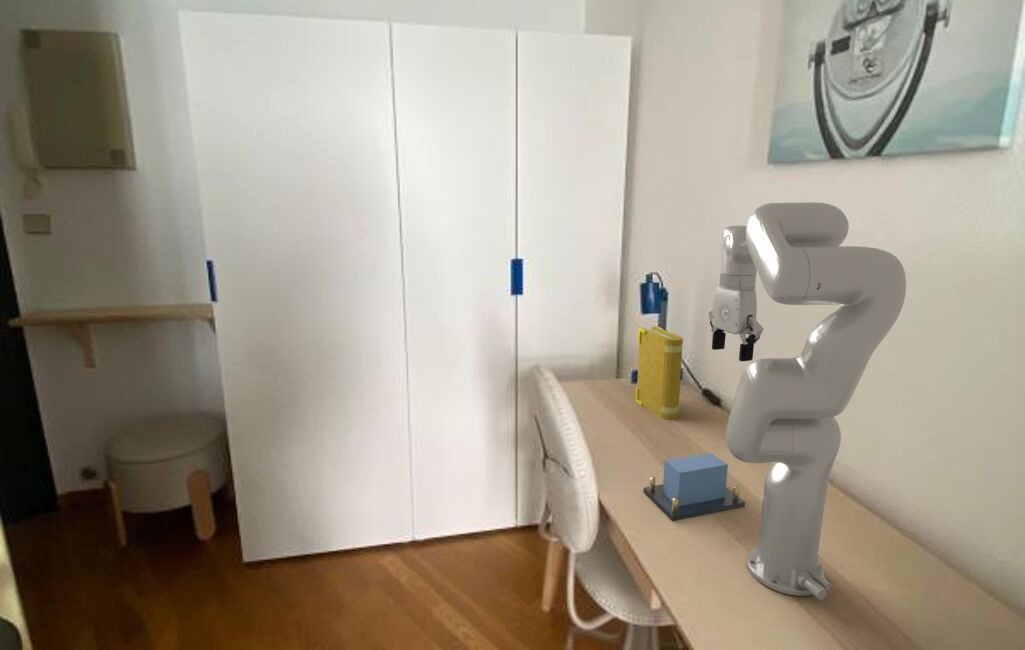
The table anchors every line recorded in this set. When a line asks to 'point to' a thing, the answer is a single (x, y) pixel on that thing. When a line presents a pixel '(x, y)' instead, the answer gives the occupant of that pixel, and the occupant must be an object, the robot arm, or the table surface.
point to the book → (659, 371)
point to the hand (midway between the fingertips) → (731, 354)
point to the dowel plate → (693, 509)
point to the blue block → (695, 478)
